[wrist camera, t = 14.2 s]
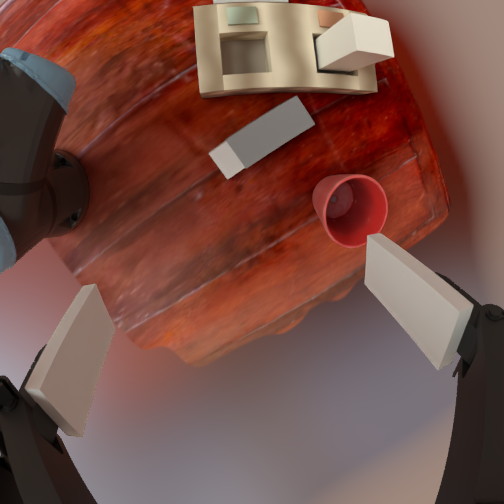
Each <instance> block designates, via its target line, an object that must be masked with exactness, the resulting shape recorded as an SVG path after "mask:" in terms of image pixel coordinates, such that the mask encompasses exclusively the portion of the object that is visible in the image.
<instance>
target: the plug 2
mask: <svg viewBox="0 0 504 504" xmlns="http://www.w3.org/2000/svg"><path fill="white" fill-rule="evenodd" d="M314 51H315V59H316V68H317V72H325V73H338V74H341V73H344V72H346V71H347V72H351V71H354V70H356V69H359V68H362V67H365V66H368V65H371V64H374V63H377V62H380V61H383V60H386V59H389V58H393V57H394V52H393V46H392V40H391V34H390V29H389V24H388V21H386V20H382V19H378V18H374V17H370V16H365V15H361V14H356V13H349V14H348V15H347V16H345V17H344V18H343V19H341V20H340V21H339V22H337V23H336V24H335V25H333V26H332V27H331V28H329V29H328V30H327V31H326V32H324V33H323V34H322V35H321V36H319V37H318V38H317V39H316V42H315V43H314Z"/></svg>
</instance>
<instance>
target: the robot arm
mask: <svg viewBox="0 0 504 504" xmlns="http://www.w3.org/2000/svg"><path fill="white" fill-rule="evenodd" d="M75 87H76V81H75V78H74V76H73V75H72V74H71V73H70V72H69V71H67V70H66V69H64V68H63V67H61V66H59V65H57V64H55V63H53V62H51V61H49V60H47V59H45V58H42V57H40V56H38V55H35V54H29V53H28V52H25V51H23V50H20V49H16V48H6V49H4V50H3V52H2V53H1V54H0V274H1V273H2V272H4V271H5V270H6V269H9V268H11V267H12V266H13V265H14V264H15V263H16V262H17V261H18V260H19V259H20V258H21V257H23V256H24V255H25V254H26V253H27V252H28V251H29V250H31V249H32V248H33V247H34V246H35V245H37V244H38V243H39V242H40V241H41V240H42V239H44V238H51V237H59V236H62V235H64V234H67V233H68V232H70V231H71V230H72V229H74V228H75V227H76V226H77V225H78V224H79V223H80V222H81V220H82V219H83V217H84V215H85V213H86V211H87V208H88V203H89V183H88V179H87V176H86V173H85V171H84V169H83V167H82V165H81V164H80V163H79V161H78V160H77V159H76V158H75V157H74V156H72V155H71V154H69V153H68V152H65V151H62V150H54V147H55V144H56V141H57V138H58V135H59V132H60V129H61V126H62V123H63V120H64V118H65V115H67V114H68V111H69V110H68V107H69V104H70V101H71V98H72V96H73V93H74V91H75ZM365 285H366V286H367V287H368V289H369V290H370V291H371V292H372V293H373V294H374V295H375V296H376V297H377V299H378V300H379V301H380V302H381V303H382V304H383V305H384V306H385V308H386V309H387V310H388V311H389V312H390V313H391V314H392V316H393V317H394V318H395V319H396V320H397V322H398V323H399V324H400V325H401V326H402V327H403V328H404V330H405V331H406V332H407V333H408V334H409V336H410V337H411V338H412V339H413V340H414V342H416V344H417V345H418V346H419V348H420V349H421V350H422V351H423V353H424V354H425V355H426V356H427V357H428V359H429V360H430V361H431V362H432V364H433V365H434V366H435V368H436V369H437V370H439V369H441V368H443V367H445V366H447V365H449V364H451V363H452V361H453V359H454V356H455V354H456V352H458V354H459V355H460V356H461V358H460V360H459V362H458V364H457V367H456V369H455V371H454V373H453V377H455V375H456V373H457V372H458V385H457V397H456V407H455V415H454V416H455V417H454V423H453V430H452V436H451V441H450V447H449V452H448V457H447V461H446V466H445V470H444V474H443V478H442V482H441V485H440V489H439V492H438V495H437V498H436V502H435V504H504V310H503V309H502V308H500V307H499V306H497V305H493V304H486V305H483V306H481V305H480V304H479V303H478V302H477V301H476V300H474V299H473V298H472V297H471V296H470V295H468V294H467V293H466V292H465V291H464V290H462V289H460V287H459V286H457V285H456V284H454V282H452V281H451V280H450V279H449V278H447V277H446V276H443V275H441V274H439V273H436V272H435V273H434V272H433V271H431V270H430V269H429V268H428V267H426V266H425V265H424V264H422V263H421V262H419V261H418V260H417V259H416V258H414V257H413V256H412V255H410V254H409V253H407V252H406V251H405V250H404V249H402V248H401V247H399V246H398V245H397V244H395V243H394V242H392V241H391V240H390V239H388V238H387V237H385V236H384V235H382V234H381V233H377V234H372V235H367V252H366V270H365ZM115 330H116V329H115V327H114V325H113V322H112V320H111V318H110V316H109V314H108V311H107V309H106V307H105V305H104V302H103V300H102V298H101V295H100V293H99V290H98V288H97V286H96V284H91V285H85V286H83V287H82V288H81V290H80V291H79V293H78V294H77V296H76V297H75V299H74V300H73V302H72V304H71V305H70V307H69V308H68V310H67V311H66V313H65V315H64V316H63V318H62V320H61V321H60V323H59V325H58V326H57V328H56V330H55V331H54V333H53V335H52V336H51V338H50V340H49V342H48V344H46V345H45V346H44V347H43V348H42V349H41V350H40V351H39V353H38V355H37V356H36V358H35V360H34V361H35V362H33V364H32V366H31V369H30V370H29V371H28V373H27V375H26V377H25V379H24V381H23V383H22V385H21V388H20V390H19V392H18V390H17V389H16V388H15V387H14V385H13V384H12V383H11V381H10V380H9V379H8V377H6V376H0V453H1V456H0V504H97V502H96V501H95V499H94V498H93V496H92V494H91V493H90V491H89V490H88V488H87V486H86V485H85V483H84V481H83V480H82V478H81V476H80V474H79V473H78V471H77V469H76V467H75V465H74V463H73V461H72V460H71V458H70V456H69V454H68V452H67V450H66V447H65V445H64V443H63V441H62V439H61V438H60V436H59V435H58V434H57V430H58V427H59V428H60V429H61V430H62V431H63V432H64V433H65V434H66V435H68V436H76V437H83V433H84V429H85V425H86V421H87V418H88V414H89V410H90V407H91V403H92V399H93V396H94V393H95V389H96V386H97V383H98V379H99V376H100V373H101V370H102V367H103V364H104V361H105V358H106V355H107V352H108V349H109V346H110V343H111V341H112V338H113V335H114V332H115Z"/></svg>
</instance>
